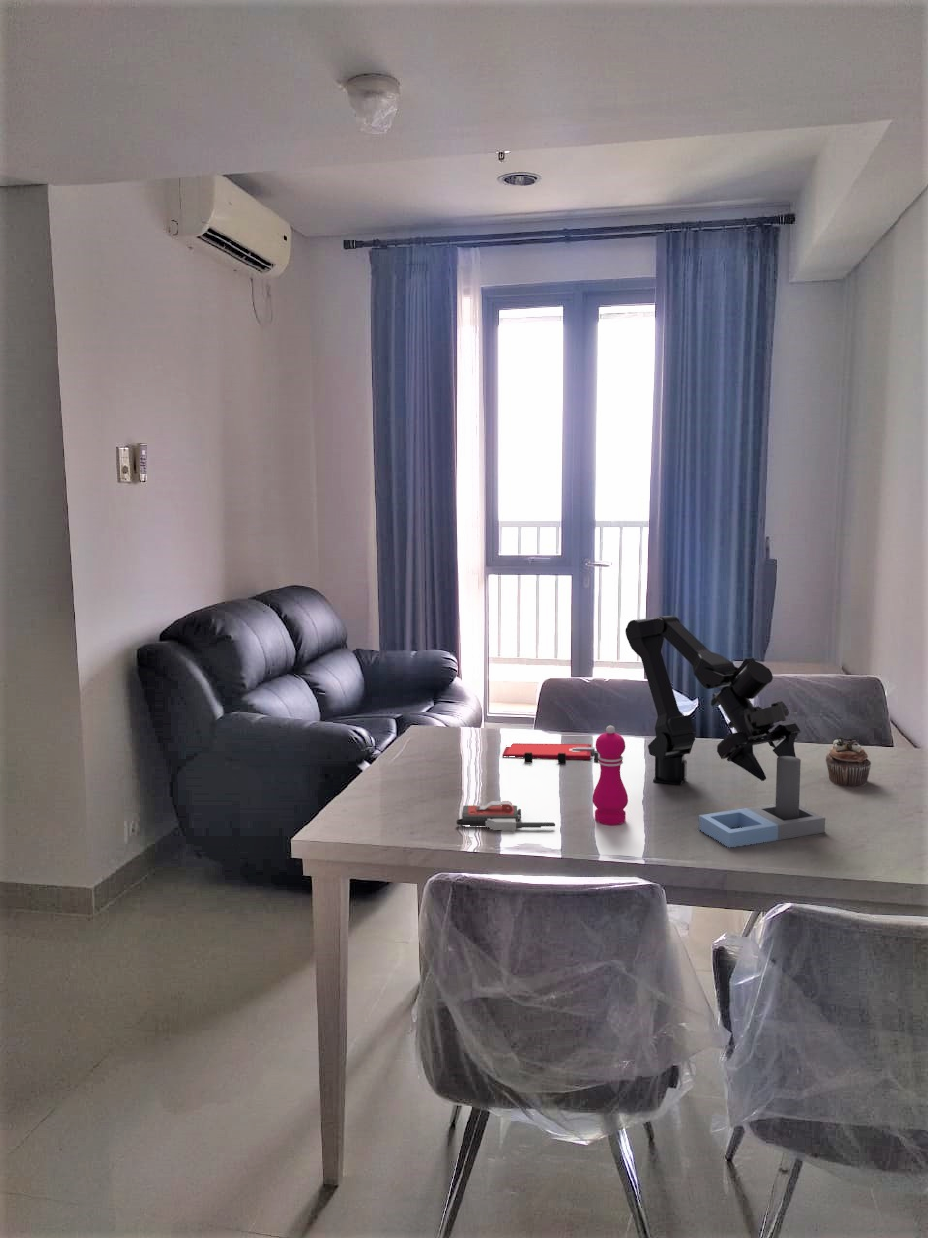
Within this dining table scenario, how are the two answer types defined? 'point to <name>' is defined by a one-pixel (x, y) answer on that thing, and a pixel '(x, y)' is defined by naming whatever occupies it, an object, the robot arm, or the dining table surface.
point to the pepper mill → (610, 780)
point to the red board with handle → (551, 751)
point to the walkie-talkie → (497, 816)
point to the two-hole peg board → (758, 825)
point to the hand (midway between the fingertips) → (781, 776)
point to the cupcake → (848, 763)
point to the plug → (787, 788)
